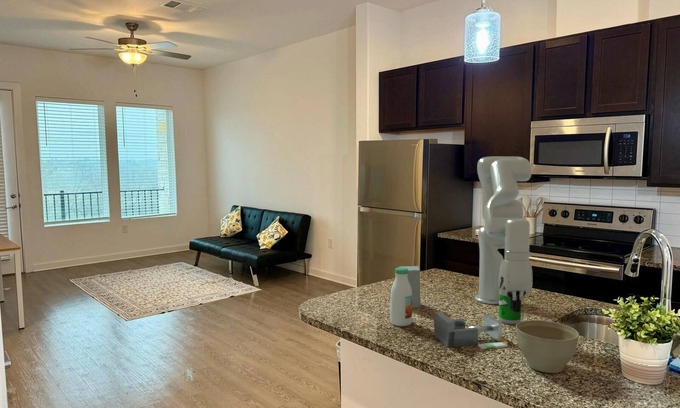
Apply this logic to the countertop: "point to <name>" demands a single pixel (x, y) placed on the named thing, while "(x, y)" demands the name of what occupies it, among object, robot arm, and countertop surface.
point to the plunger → (491, 328)
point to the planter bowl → (546, 344)
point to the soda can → (507, 311)
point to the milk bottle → (401, 299)
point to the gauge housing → (453, 331)
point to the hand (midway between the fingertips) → (515, 310)
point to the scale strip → (492, 345)
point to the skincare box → (414, 284)
